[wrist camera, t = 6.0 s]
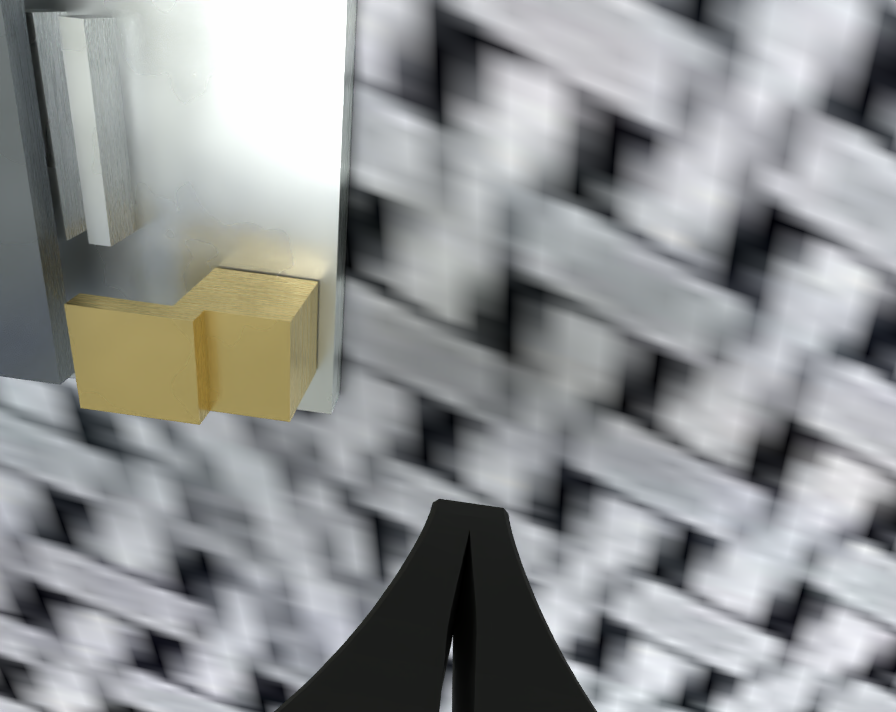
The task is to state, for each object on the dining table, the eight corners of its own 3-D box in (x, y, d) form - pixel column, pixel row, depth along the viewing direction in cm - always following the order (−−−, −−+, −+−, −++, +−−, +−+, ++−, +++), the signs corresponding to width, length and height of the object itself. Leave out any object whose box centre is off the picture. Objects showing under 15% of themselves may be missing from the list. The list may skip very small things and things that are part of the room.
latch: (315, 372, 21) (282, 436, 18) (143, 348, 21) (80, 407, 18) (318, 281, 20) (282, 333, 17) (133, 256, 20) (63, 303, 17)
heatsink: (339, 395, 23) (319, 441, 21) (-98, 334, 24) (-168, 372, 21) (363, -155, 16) (337, -181, 14) (-259, -229, 17) (-389, -267, 14)
